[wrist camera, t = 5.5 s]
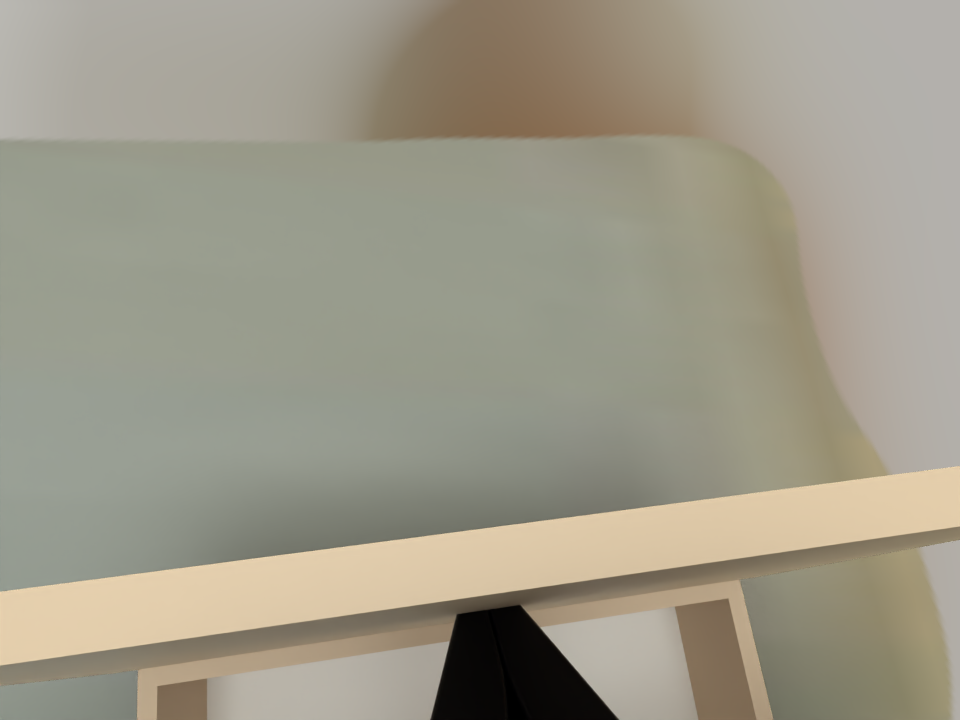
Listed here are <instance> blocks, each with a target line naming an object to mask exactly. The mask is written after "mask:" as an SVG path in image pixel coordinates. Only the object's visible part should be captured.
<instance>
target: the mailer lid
mask: <svg viewBox="0 0 960 720" xmlns="http://www.w3.org/2000/svg"><path fill="white" fill-rule="evenodd" d="M956 540H960V466H957V467H950V468H942V469H934V470H927V471H920V472H912V473H904V474H897V475H889V476H881V477H873V478H866V479H858V480H850V481H843V482H835V483H828V484H820V485H812V486H805V487H797V488H789V489H782V490H774V491H766V492H759V493H751V494H744V495H736V496H728V497H721V498H713V499H705V500H698V501H690V502H682V503H675V504H667V505H659V506H652V507H644V508H637V509H629V510H621V511H614V512H606V513H598V514H591V515H583V516H575V517H568V518H560V519H553V520H545V521H537V522H530V523H522V524H514V525H507V526H499V527H491V528H484V529H476V530H469V531H461V532H453V533H446V534H438V535H430V536H423V537H415V538H407V539H400V540H392V541H384V542H377V543H369V544H362V545H354V546H346V547H339V548H331V549H323V550H316V551H308V552H300V553H293V554H285V555H278V556H270V557H262V558H255V559H247V560H239V561H232V562H224V563H216V564H209V565H201V566H194V567H186V568H178V569H171V570H163V571H155V572H148V573H140V574H132V575H125V576H117V577H109V578H102V579H94V580H87V581H79V582H71V583H64V584H56V585H48V586H41V587H33V588H25V589H18V590H10V591H3V592H0V686H5V685H14V684H23V683H32V682H41V681H50V680H59V679H68V678H77V677H86V676H95V675H104V674H113V673H120V672H126V671H133V670H140V669H146V668H153V667H160V666H166V665H173V664H180V663H187V662H193V661H200V660H207V659H213V658H220V657H227V656H233V655H240V654H247V653H253V652H260V651H267V650H273V649H280V648H287V647H293V646H300V645H307V644H313V643H320V642H327V641H333V640H340V639H347V638H353V637H360V636H367V635H373V634H380V633H387V632H393V631H400V630H407V629H414V628H420V627H427V626H434V625H440V624H447V623H454V622H455V618H456V614H462V613H469V612H475V611H482V610H490V609H496V608H502V607H509V606H516V605H521V606H522V607H523V608H524V609H525V611H526V612H527V611H534V610H540V609H547V608H554V607H560V606H567V605H574V604H580V603H587V602H594V601H600V600H607V599H614V598H620V597H627V596H634V595H640V594H647V593H654V592H661V591H667V590H674V589H681V588H687V587H694V586H701V585H707V584H714V583H721V582H727V581H734V580H741V579H747V578H754V577H761V576H766V575H772V574H777V573H782V572H788V571H793V570H799V569H804V568H810V567H815V566H820V565H826V564H831V563H837V562H842V561H848V560H853V559H858V558H864V557H869V556H875V555H880V554H885V553H891V552H896V551H902V550H907V549H913V548H918V547H923V546H929V545H934V544H939V543H945V542H950V541H956Z"/></svg>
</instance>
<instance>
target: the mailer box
mask: <svg viewBox="0 0 960 720" xmlns="http://www.w3.org/2000/svg"><path fill="white" fill-rule="evenodd" d="M527 613H528V614H529V615H530V616H531V618H532V619H533V620H534V621H535V622H536V623H537V625H538V626H539V627H540V628H541V629H542V630H543V632H544V633H545V634H546V635H547V636H548V637H549V639H550V640H551V641H552V642H553V643H554V644H555V646H556V647H557V648H558V649H559V650H560V651H561V653H562V654H563V655H564V656H565V657H566V658H567V659H568V661H569V662H570V663H571V664H572V665H573V666H574V668H575V669H576V670H577V671H578V672H579V673H580V675H581V676H582V677H583V678H584V679H585V680H586V682H587V683H588V684H589V685H590V686H591V687H592V689H593V690H594V691H595V692H596V693H597V694H598V696H599V697H600V698H601V699H602V700H603V701H604V703H605V704H606V705H607V706H608V707H609V708H610V710H611V711H612V712H613V713H614V714H615V715H616V717H617V718H618V719H619V720H773V716H772V712H771V708H770V704H769V700H768V696H767V691H766V687H765V683H764V679H763V675H762V671H761V666H760V662H759V658H758V654H757V650H756V646H755V642H754V637H753V633H752V629H751V625H750V621H749V617H748V612H747V608H746V604H745V600H744V596H743V592H742V588H741V583H740V580H734V581H727V582H721V583H714V584H707V585H701V586H694V587H687V588H681V589H674V590H667V591H661V592H654V593H647V594H640V595H634V596H627V597H620V598H614V599H607V600H600V601H594V602H587V603H580V604H574V605H567V606H560V607H554V608H547V609H540V610H534V611H527ZM453 626H454V623H447V624H440V625H434V626H427V627H420V628H414V629H407V630H400V631H393V632H387V633H380V634H373V635H367V636H360V637H353V638H347V639H340V640H333V641H327V642H320V643H313V644H307V645H300V646H293V647H287V648H280V649H273V650H267V651H260V652H253V653H247V654H240V655H233V656H227V657H220V658H213V659H207V660H200V661H193V662H187V663H180V664H173V665H166V666H160V667H153V668H146V669H140V670H138V696H137V720H430V719H431V715H432V711H433V707H434V703H435V699H436V695H437V691H438V687H439V683H440V679H441V675H442V671H443V667H444V663H445V658H446V654H447V650H448V646H449V642H450V638H451V634H452V630H453Z"/></svg>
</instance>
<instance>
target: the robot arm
mask: <svg viewBox="0 0 960 720" xmlns="http://www.w3.org/2000/svg"><path fill="white" fill-rule="evenodd" d="M430 720H619V719H618V718H617V717H616V715H615V714H614V713H613V712H612V711H611V710H610V708H609V707H608V706H607V705H606V704H605V703H604V701H603V700H602V699H601V698H600V697H599V696H598V694H597V693H596V692H595V691H594V690H593V689H592V687H591V686H590V685H589V684H588V683H587V682H586V680H585V679H584V678H583V677H582V676H581V675H580V673H579V672H578V671H577V670H576V669H575V668H574V666H573V665H572V664H571V663H570V662H569V661H568V659H567V658H566V657H565V656H564V655H563V654H562V653H561V651H560V650H559V649H558V648H557V647H556V646H555V644H554V643H553V642H552V641H551V640H550V639H549V637H548V636H547V635H546V634H545V633H544V632H543V630H542V629H541V628H540V627H539V626H538V625H537V623H536V622H535V621H534V620H533V619H532V618H531V616H530V615H529V614H528V613H527V612H526V611H525V609H524V608H523V607H522V606H521V605H516V606H509V607H502V608H496V609H490V610H482V611H475V612H469V613H462V614H456V618H455V622H454V626H453V630H452V634H451V638H450V642H449V646H448V650H447V654H446V658H445V663H444V667H443V671H442V675H441V679H440V683H439V687H438V691H437V695H436V699H435V703H434V707H433V711H432V715H431V719H430Z"/></svg>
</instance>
